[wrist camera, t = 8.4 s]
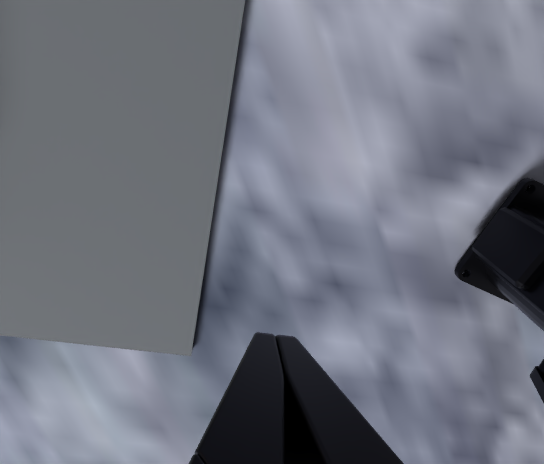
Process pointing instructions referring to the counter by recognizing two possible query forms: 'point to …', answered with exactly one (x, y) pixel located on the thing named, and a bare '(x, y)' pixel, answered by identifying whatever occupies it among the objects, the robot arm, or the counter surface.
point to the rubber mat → (110, 165)
